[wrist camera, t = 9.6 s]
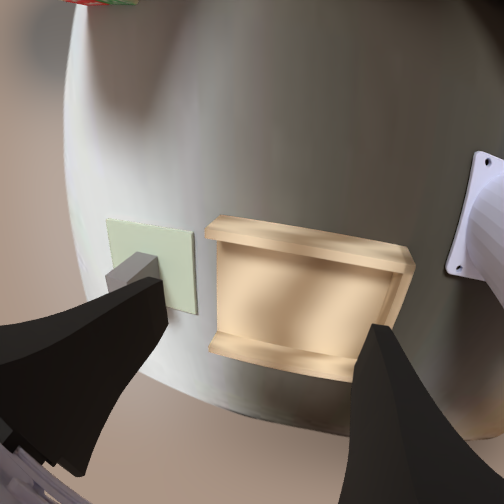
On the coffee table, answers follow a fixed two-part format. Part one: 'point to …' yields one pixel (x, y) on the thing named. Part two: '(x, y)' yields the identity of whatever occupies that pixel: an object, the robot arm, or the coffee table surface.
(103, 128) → the coffee table surface
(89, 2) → the stack of blocks
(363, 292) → the box
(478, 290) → the coffee table surface
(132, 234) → the cover plate
